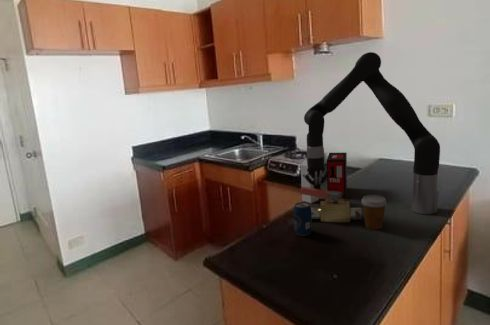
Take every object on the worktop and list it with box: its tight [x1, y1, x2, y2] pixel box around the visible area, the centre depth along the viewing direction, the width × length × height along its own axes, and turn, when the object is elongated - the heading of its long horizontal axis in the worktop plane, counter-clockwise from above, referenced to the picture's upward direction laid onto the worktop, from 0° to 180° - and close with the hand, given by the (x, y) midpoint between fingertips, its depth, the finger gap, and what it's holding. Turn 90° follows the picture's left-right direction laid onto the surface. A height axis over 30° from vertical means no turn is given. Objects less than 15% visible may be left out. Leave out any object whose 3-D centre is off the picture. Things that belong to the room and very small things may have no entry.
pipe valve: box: [311, 198, 363, 223], centre depth 145 cm, size 25×7×9 cm, turn 78°
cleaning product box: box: [326, 152, 348, 199], centre depth 175 cm, size 16×9×20 cm, turn 161°
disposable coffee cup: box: [360, 194, 388, 230], centre depth 134 cm, size 10×10×12 cm
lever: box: [300, 186, 342, 200], centre depth 148 cm, size 18×4×3 cm, turn 49°
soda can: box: [293, 201, 313, 237], centre depth 134 cm, size 7×7×12 cm
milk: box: [300, 157, 320, 204], centre depth 167 cm, size 6×6×22 cm
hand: (317, 192), depth 153 cm, fingers closed
